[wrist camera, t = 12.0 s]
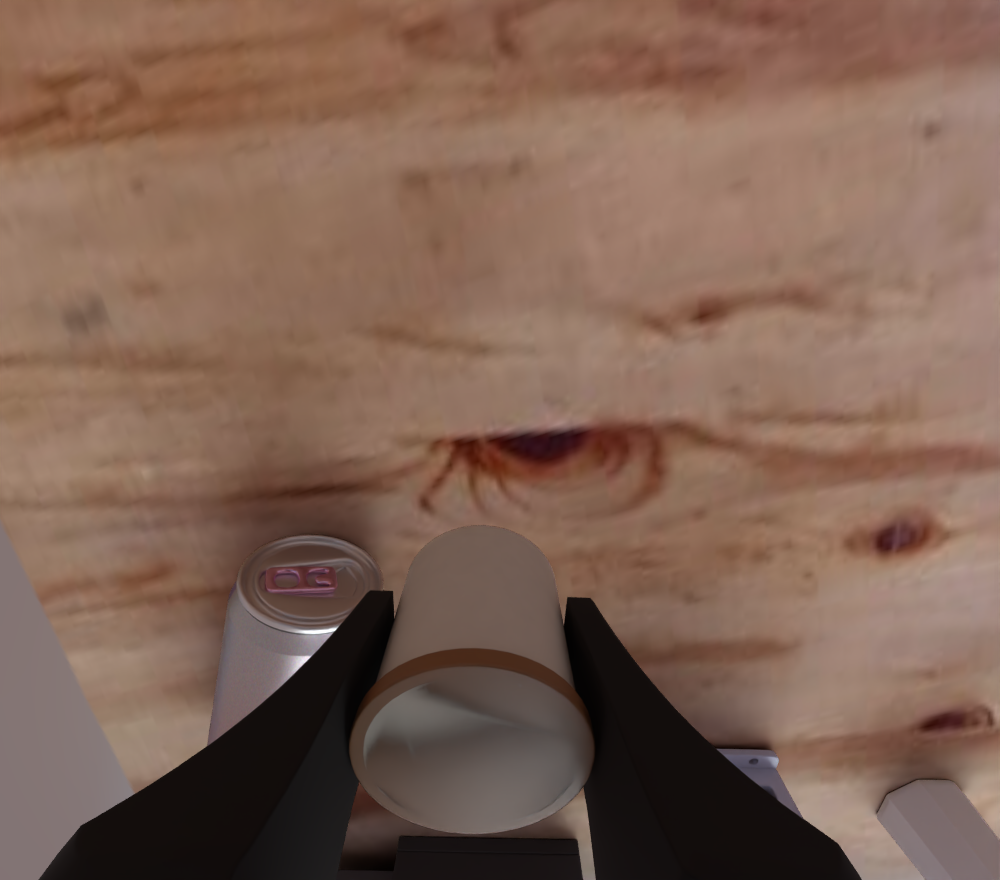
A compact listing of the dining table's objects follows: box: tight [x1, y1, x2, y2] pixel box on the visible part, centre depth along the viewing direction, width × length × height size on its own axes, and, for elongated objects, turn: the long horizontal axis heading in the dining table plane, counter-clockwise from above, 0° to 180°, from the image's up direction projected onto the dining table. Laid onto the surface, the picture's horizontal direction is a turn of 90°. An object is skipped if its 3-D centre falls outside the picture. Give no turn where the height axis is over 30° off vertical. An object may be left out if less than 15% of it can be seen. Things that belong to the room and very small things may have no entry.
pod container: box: [349, 525, 596, 834], centre depth 11 cm, size 5×5×5 cm
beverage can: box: [207, 535, 383, 746], centre depth 21 cm, size 6×6×15 cm
